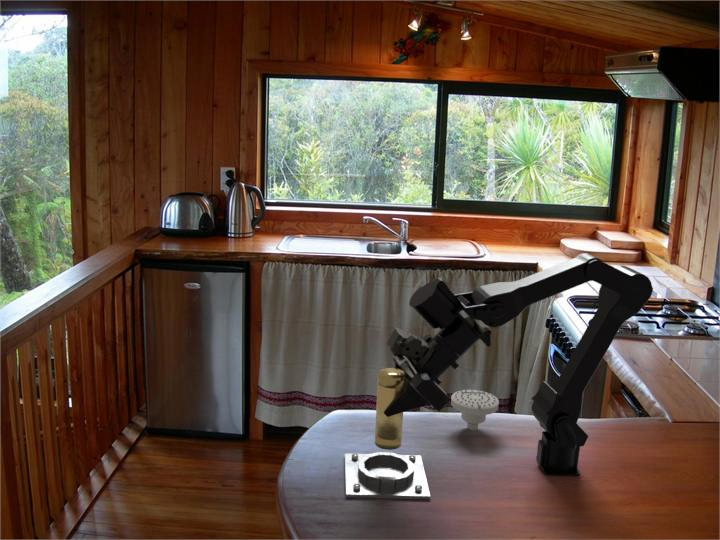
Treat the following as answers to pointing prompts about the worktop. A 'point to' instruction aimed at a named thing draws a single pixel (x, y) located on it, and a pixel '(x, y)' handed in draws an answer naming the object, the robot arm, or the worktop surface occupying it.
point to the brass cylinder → (387, 390)
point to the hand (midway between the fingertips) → (382, 408)
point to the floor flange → (385, 476)
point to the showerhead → (474, 406)
